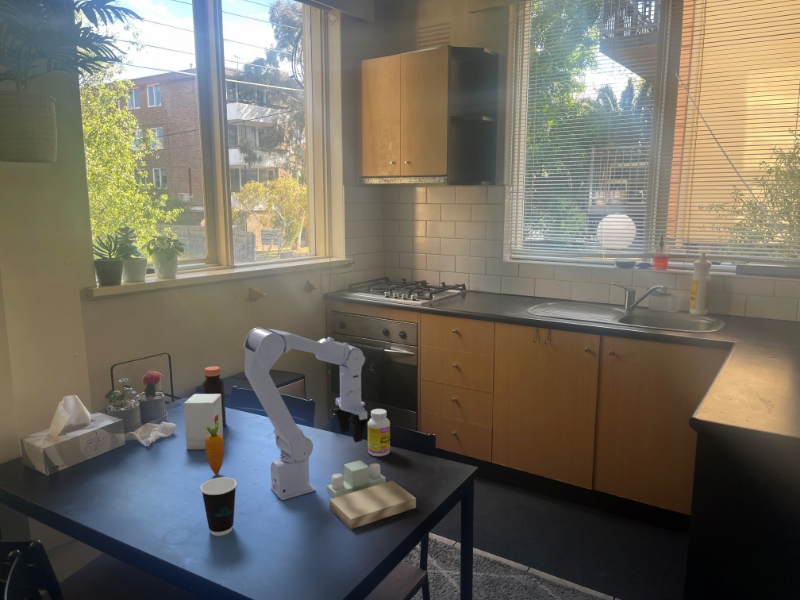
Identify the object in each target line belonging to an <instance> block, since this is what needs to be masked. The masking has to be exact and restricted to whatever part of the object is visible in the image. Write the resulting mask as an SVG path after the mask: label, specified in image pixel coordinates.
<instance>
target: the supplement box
mask: <svg viewBox="0 0 800 600" xmlns="http://www.w3.org/2000/svg"><path fill="white" fill-rule="evenodd" d="M183 411H184V412H183V413H184V427H185V428H184V429H185V445H186V446H185V447H186V450H206V446H205V440H206V438H207V436H209V435H211V434H210V433H209V431H208V430H207V429H206V426H207V425H208V426H209V427H210V429H211V431H212V428H213V430H214V428H215V425H216V421H218V422H219V426H218V431H217V434H220V435H222V436H223V437H224V426H223V423H222V405H221V394H203V393H194V394H193V395H191V396H190V397H189V398H188V399H187V400H186V401H184V402H183Z"/></svg>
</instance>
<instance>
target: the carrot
mask: <svg viewBox="0 0 800 600" xmlns="http://www.w3.org/2000/svg"><path fill="white" fill-rule="evenodd" d="M218 426H219V422H218V421H216V425H215V428H214V430H213V428H212V431H211V429H210V427H209V426H208V425H207V426H206V429H207V430H208V431H209V433H210V434H211V435H209V436H207V438H206V440H205V446H206V449H205V452H206V458H207V462H208V465H209V467H210V469H211V471H212V472H213V474H215V475H216V476H217V475H219V473H220V470H221V468H222V466H223V462H224V454H225V438H224V435H223V436H222V435H220V434H217V431H218Z"/></svg>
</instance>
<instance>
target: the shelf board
mask: <svg viewBox="0 0 800 600" xmlns="http://www.w3.org/2000/svg"><path fill="white" fill-rule="evenodd" d="M328 500H329V509H330V511H331V512H332V513H334V514H335V516H336V517H337V518H339V519H340V520H341V521H342V523H344V524H345V525H346V526H347V527H348V528H349V529H350V530H353V529H355V528H358V527H362V526H366V525H368V524H371V523H374V522H377V521H380V520H383V519H386V518H389V517H392V516H394V515H398V514H401V513H403V512H407V511H410V510H413V509H416V508H417V498H416V497H415V496H414V495H412V494H411V493H410V492H409V491H407V490H406V489H404V488H403V487H402V486H400V485H398V484H397V483H396V482H394V480H389V481H386V483H383V484H379V485H376V486H373V487H369V488H366V489H362V490H359V491H356V492H352V493H349V494H346V495H342V496H339V497H336V498H334V497H332V498H330V499H328Z"/></svg>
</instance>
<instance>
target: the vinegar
mask: <svg viewBox="0 0 800 600" xmlns="http://www.w3.org/2000/svg"><path fill="white" fill-rule="evenodd" d="M220 376H221V367H220V366H217V365H215V366H207V367H205V368H204V377H205V380H204V381H203V382H202V394H221V405H222V423H223V427H225V426H226V424H227V418H226V401H225V385H224V384H225V382H224V380H223V379H221V378H220Z"/></svg>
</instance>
